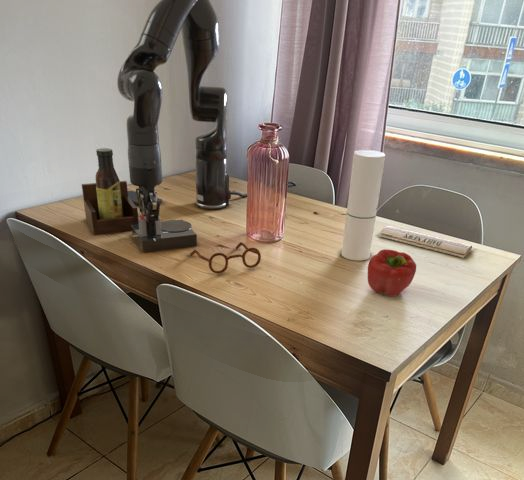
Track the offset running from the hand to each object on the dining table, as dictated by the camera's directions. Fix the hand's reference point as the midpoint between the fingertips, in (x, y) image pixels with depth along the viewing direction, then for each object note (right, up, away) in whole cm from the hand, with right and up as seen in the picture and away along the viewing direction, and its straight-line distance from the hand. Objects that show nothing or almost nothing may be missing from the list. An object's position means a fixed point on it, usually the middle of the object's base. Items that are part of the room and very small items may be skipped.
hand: (150, 233), depth 137 cm
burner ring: (+5, +3, +6) cm, 9 cm away
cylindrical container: (+52, -5, +2) cm, 52 cm away
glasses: (+19, -8, -5) cm, 21 cm away
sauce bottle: (-13, +5, +14) cm, 20 cm away
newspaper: (+72, 0, +11) cm, 73 cm away
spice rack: (-13, +5, +14) cm, 20 cm away
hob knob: (0, 0, 0) cm, 0 cm away
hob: (+3, -1, +5) cm, 6 cm away
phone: (-10, +17, +33) cm, 38 cm away
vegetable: (+56, -17, -15) cm, 61 cm away
